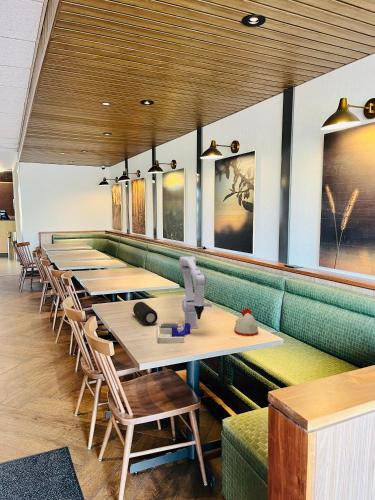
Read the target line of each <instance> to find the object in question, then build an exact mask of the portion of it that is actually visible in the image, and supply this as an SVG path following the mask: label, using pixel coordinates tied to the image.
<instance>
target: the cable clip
mask: <svg viewBox="0 0 375 500" xmlns="http://www.w3.org/2000/svg"><path fill="white" fill-rule="evenodd" d="M184 323H185V322H184ZM190 334H191V328H190V324H189V323H185V327H183V328H182V331H181V332H178V330H177V328H176V327H172V334H171V337H184V338H185V336H187V335H190Z"/></svg>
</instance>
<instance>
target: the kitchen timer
mask: <svg viewBox="0 0 375 500" xmlns="http://www.w3.org/2000/svg"><path fill="white" fill-rule="evenodd" d="M240 312H241V315H239V316H238V318H237V319H236V320H235V324H234V328H233V330H234V331H233V332H234V334H236V335H238V336H241V337H254V336H257V335H258V334H259V330H258V329H259V328H258V324H257V320H256V318H255V317H254V316H253V315H252V313H253V311H252V310H251V308H249V307H245V308H243V309H242V310H241V311H240Z"/></svg>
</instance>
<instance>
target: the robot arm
mask: <svg viewBox="0 0 375 500" xmlns="http://www.w3.org/2000/svg"><path fill="white" fill-rule="evenodd" d="M178 265H179V270H180V272H182V274H183V275H182V277H183V283H184V290H185V297H184V298H183V299H182V302H181V303H182V305H181V307H182V311H183V313H184V322H183V323H182V324H183V326H184V327H185V323H189V324H190V329H199V328H198V325H197V320H201V316H202V313H203V312H204V310H205V307H210V308H212V305H213V303H212V302H205V286H206V284H207V277H206V274H204V273H202V271H201V270H200V268H199V267H197V266H196V265H197V257H196V256H194V255H193V256H180V257H179V260H178ZM184 327H183V328H184Z"/></svg>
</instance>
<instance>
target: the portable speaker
mask: <svg viewBox="0 0 375 500" xmlns="http://www.w3.org/2000/svg"><path fill="white" fill-rule="evenodd" d="M132 311H133V314H134V315H135V316H136V317H137V318H139V320H140V321H142V322H143V324H145V325H147V326H150V325H151V326H152V325H154V324H156V323H157V321H158V313H157V311H156V310H155V309H153V308H152V306H149V305H148V304H146V303H145V302H144V301H138V302H136V303H135V304H134V305H133V308H132Z"/></svg>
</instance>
